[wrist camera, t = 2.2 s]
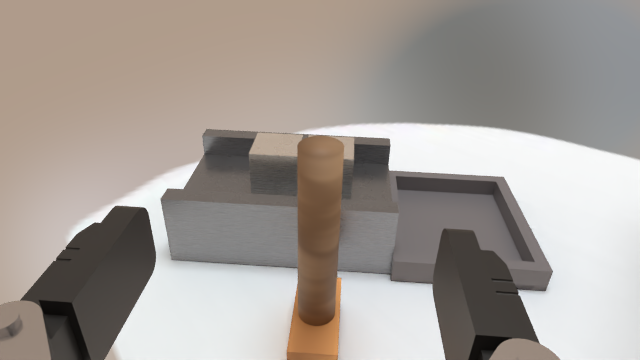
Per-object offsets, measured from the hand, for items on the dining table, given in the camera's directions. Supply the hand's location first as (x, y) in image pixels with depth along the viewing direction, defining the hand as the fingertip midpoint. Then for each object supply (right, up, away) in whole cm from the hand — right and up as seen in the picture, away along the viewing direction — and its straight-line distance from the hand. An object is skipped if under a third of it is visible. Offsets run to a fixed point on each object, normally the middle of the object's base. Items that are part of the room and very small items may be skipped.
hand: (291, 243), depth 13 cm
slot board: (-2, -2, +31) cm, 31 cm away
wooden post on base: (0, -9, +19) cm, 21 cm away
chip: (-3, +1, +28) cm, 29 cm away
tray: (+13, -3, +30) cm, 33 cm away
